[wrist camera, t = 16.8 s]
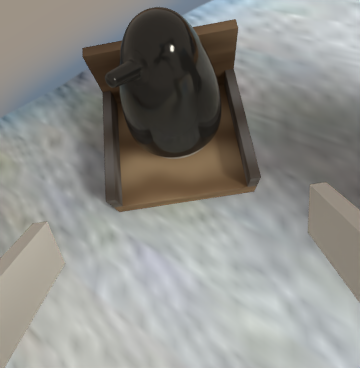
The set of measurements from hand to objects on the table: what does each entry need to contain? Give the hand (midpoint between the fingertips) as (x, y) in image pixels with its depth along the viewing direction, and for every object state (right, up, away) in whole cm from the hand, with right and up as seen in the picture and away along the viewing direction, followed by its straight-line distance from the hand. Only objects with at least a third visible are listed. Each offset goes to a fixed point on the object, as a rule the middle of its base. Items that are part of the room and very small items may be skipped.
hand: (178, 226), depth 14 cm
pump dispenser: (0, +8, +19) cm, 21 cm away
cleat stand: (0, +7, +20) cm, 21 cm away
